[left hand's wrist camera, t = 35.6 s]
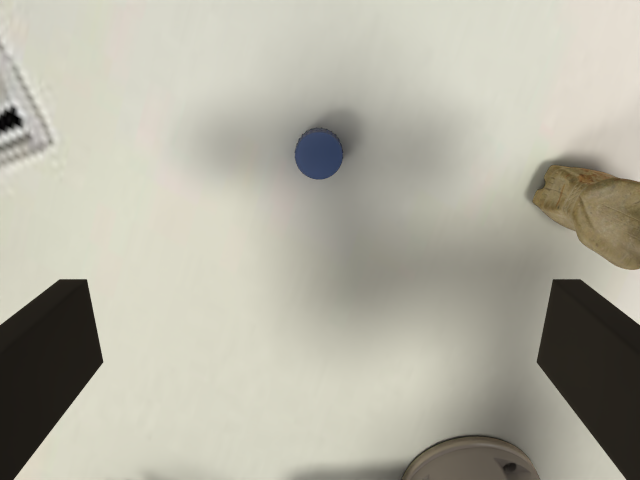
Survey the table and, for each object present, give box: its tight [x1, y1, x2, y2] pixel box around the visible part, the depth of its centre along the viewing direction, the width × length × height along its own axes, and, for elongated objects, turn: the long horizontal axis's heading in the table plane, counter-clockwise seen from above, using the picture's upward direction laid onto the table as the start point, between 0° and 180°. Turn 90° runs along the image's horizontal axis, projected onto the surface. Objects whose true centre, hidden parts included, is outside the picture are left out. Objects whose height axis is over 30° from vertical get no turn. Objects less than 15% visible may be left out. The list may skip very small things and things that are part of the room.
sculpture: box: [533, 165, 640, 270], centre depth 30 cm, size 6×7×15 cm
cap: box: [295, 128, 343, 179], centre depth 35 cm, size 4×4×2 cm
